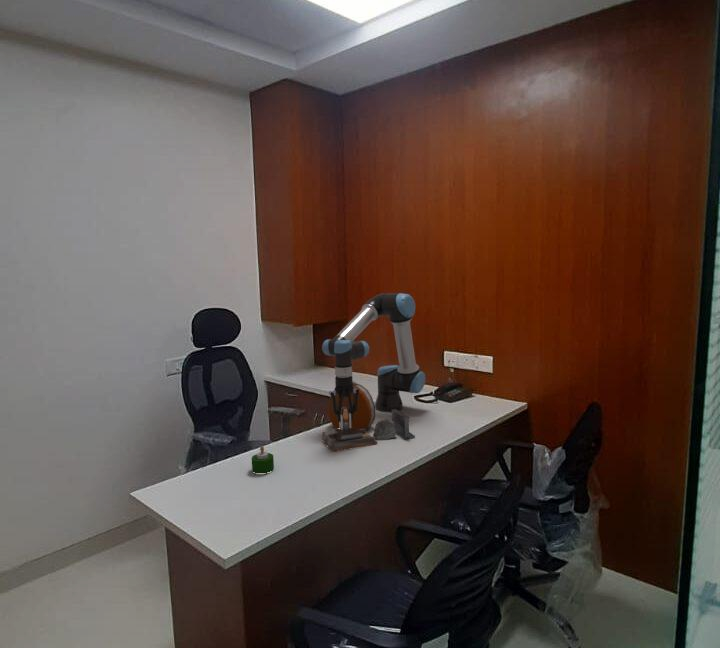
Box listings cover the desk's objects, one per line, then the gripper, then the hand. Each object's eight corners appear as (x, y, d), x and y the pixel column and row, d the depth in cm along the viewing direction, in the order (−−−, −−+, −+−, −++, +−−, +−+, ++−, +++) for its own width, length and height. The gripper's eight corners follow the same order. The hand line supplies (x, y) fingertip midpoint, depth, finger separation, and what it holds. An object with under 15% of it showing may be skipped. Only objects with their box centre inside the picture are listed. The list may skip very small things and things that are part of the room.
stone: (385, 418, 215) (388, 411, 225) (368, 432, 218) (372, 424, 228) (399, 435, 215) (401, 427, 225) (382, 448, 218) (385, 439, 227)
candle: (263, 476, 183) (262, 451, 182) (247, 472, 187) (246, 447, 186) (278, 468, 190) (277, 444, 189) (262, 464, 194) (261, 440, 193)
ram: (335, 438, 218) (334, 406, 216) (356, 434, 221) (355, 403, 219) (341, 444, 210) (340, 411, 208) (362, 440, 213) (361, 408, 212)
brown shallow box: (322, 440, 219) (321, 431, 218) (365, 434, 226) (365, 425, 225) (331, 451, 206) (331, 442, 205) (377, 444, 213) (377, 434, 212)
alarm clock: (377, 426, 236) (376, 381, 233) (369, 433, 227) (368, 385, 225) (337, 421, 245) (336, 377, 243) (328, 427, 237) (326, 382, 234)
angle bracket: (392, 430, 231) (391, 409, 229) (401, 428, 232) (401, 408, 231) (405, 439, 218) (404, 418, 216) (415, 437, 219) (414, 416, 218)
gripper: (328, 379, 205) (330, 433, 208) (364, 375, 211) (365, 427, 214) (323, 375, 212) (325, 427, 215) (358, 372, 218) (359, 422, 221)
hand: (345, 427), depth 214 cm, fingers closed on ram, 3 cm apart
